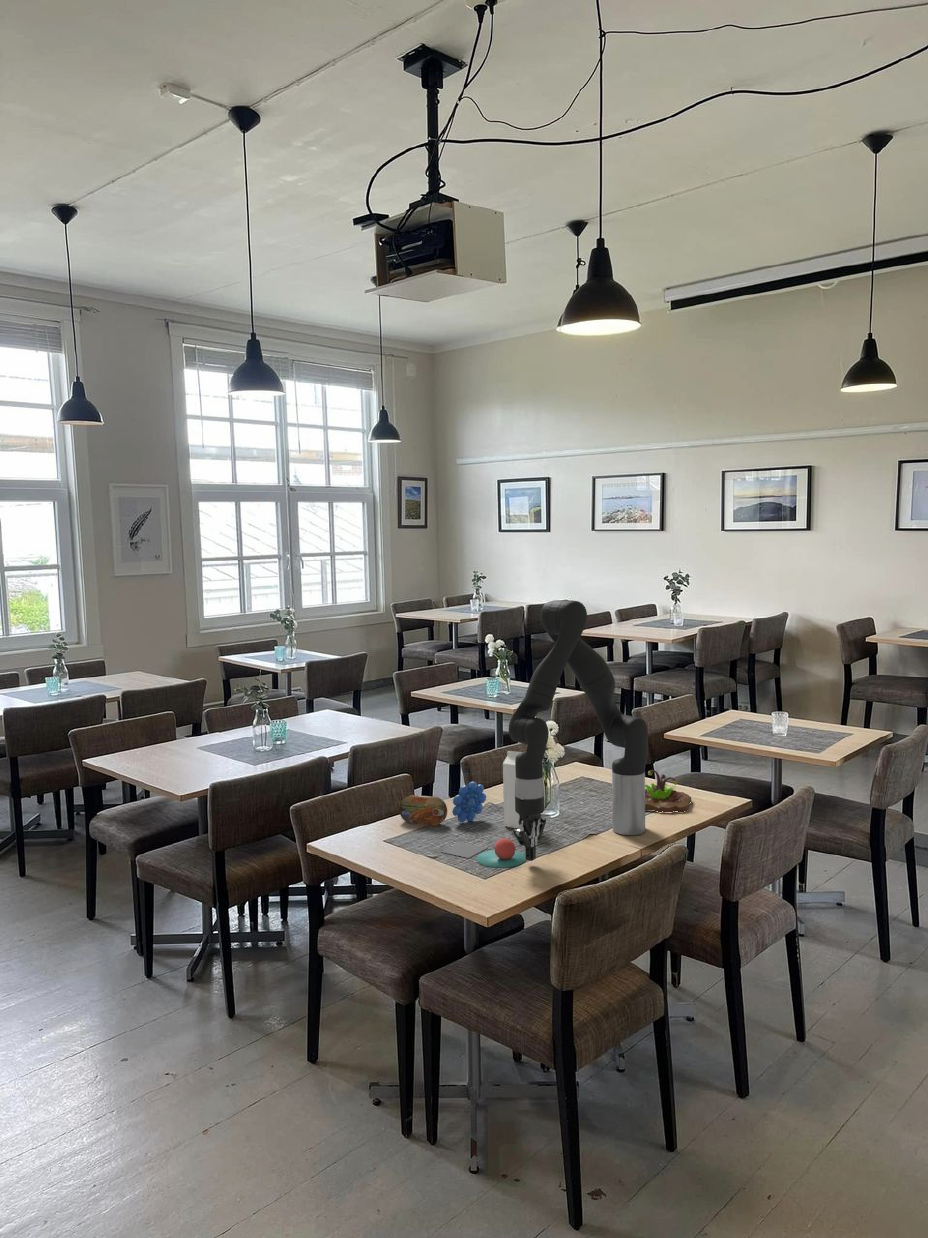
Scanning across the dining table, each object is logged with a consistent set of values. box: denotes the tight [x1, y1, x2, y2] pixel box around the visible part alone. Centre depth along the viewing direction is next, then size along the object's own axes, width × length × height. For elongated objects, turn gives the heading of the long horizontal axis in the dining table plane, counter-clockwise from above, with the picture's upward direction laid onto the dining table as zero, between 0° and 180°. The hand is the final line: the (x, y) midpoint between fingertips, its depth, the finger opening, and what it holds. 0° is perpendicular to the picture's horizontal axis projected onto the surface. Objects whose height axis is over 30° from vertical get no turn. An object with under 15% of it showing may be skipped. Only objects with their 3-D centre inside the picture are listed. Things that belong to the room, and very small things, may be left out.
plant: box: [645, 769, 692, 813], centre depth 274 cm, size 20×20×11 cm
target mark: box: [476, 849, 527, 869], centre depth 229 cm, size 13×13×1 cm
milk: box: [502, 750, 522, 829], centre depth 256 cm, size 6×6×22 cm
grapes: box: [452, 781, 487, 823], centre depth 262 cm, size 12×7×12 cm, turn 120°
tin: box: [398, 794, 448, 827], centre depth 260 cm, size 15×3×8 cm, turn 68°
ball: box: [494, 837, 516, 860], centre depth 228 cm, size 6×6×6 cm
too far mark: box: [440, 841, 488, 859], centre depth 236 cm, size 9×9×1 cm
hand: (530, 859), depth 224 cm, fingers closed
